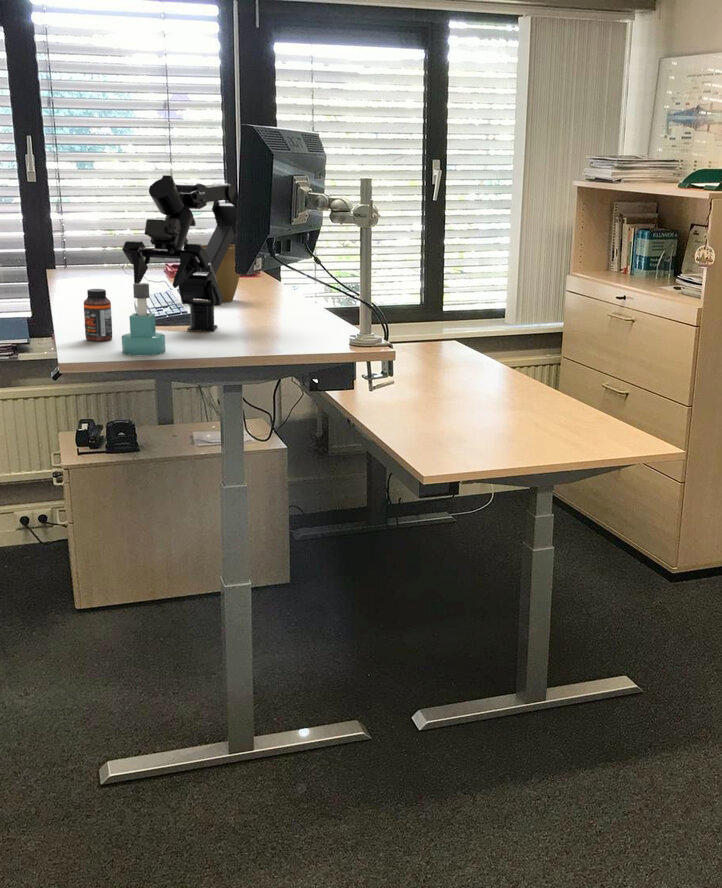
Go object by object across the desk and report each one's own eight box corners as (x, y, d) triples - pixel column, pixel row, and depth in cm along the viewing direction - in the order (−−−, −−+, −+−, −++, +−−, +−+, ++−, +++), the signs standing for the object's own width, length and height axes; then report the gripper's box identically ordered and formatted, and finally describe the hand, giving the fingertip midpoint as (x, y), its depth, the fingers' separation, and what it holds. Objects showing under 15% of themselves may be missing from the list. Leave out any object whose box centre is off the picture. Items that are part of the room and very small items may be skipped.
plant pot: (248, 297, 282) (247, 244, 277) (240, 304, 268) (239, 248, 263) (199, 296, 282) (198, 243, 278) (189, 303, 268) (187, 247, 263)
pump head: (136, 321, 197) (135, 283, 195) (151, 321, 197) (150, 283, 195) (133, 323, 194) (131, 284, 192) (148, 323, 194) (147, 285, 192)
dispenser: (128, 347, 201) (125, 311, 199) (169, 348, 202) (167, 311, 199) (118, 355, 193) (115, 317, 191) (161, 356, 193) (159, 318, 191)
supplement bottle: (79, 340, 208) (76, 289, 205) (98, 336, 213) (95, 287, 210) (100, 342, 206) (96, 292, 202) (118, 339, 211) (115, 289, 207)
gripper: (123, 203, 202) (100, 260, 196) (201, 206, 197) (180, 264, 191) (143, 236, 212) (122, 291, 205) (217, 239, 207) (198, 296, 201)
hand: (154, 285), depth 200 cm, fingers open, 9 cm apart
